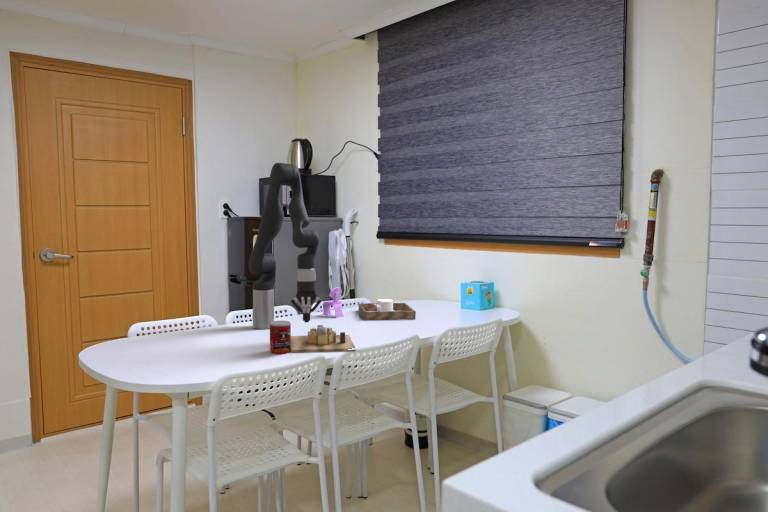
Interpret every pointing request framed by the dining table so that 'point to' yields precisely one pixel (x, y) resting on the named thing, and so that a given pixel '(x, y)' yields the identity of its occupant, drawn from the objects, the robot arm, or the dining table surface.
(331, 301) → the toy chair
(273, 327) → the canned food
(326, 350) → the jig board
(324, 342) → the gold ring with lever
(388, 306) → the tree stump
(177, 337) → the dining table surface
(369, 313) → the walnut frame
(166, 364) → the dining table surface
